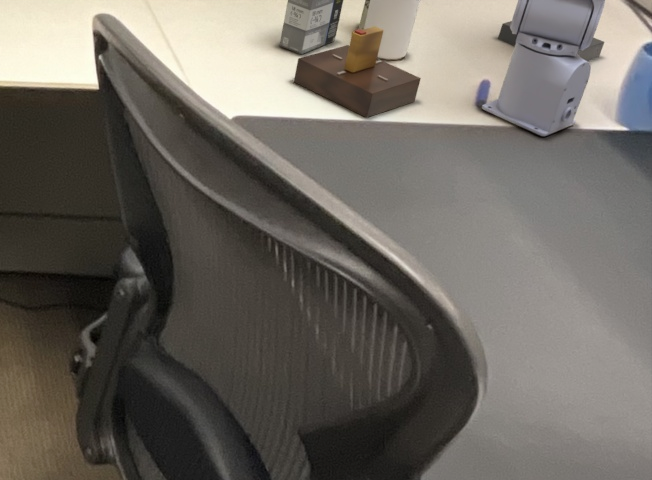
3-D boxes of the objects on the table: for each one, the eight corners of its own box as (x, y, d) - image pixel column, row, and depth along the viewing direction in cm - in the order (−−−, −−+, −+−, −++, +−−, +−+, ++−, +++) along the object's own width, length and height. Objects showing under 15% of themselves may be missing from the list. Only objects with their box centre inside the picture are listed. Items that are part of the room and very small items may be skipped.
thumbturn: (366, 62, 140) (375, 24, 137) (375, 66, 139) (384, 27, 136) (343, 69, 137) (352, 30, 134) (352, 73, 137) (361, 34, 133)
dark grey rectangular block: (599, 57, 162) (609, 29, 159) (567, 68, 157) (578, 39, 154) (530, 29, 167) (539, 1, 165) (497, 38, 162) (506, 10, 160)
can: (404, 64, 150) (428, -30, 142) (357, 55, 150) (378, -39, 142) (407, 48, 154) (430, -43, 146) (361, 39, 155) (382, -53, 147)
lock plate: (414, 101, 140) (421, 76, 138) (366, 117, 135) (372, 92, 133) (342, 67, 146) (348, 43, 144) (293, 81, 140) (298, 56, 138)
